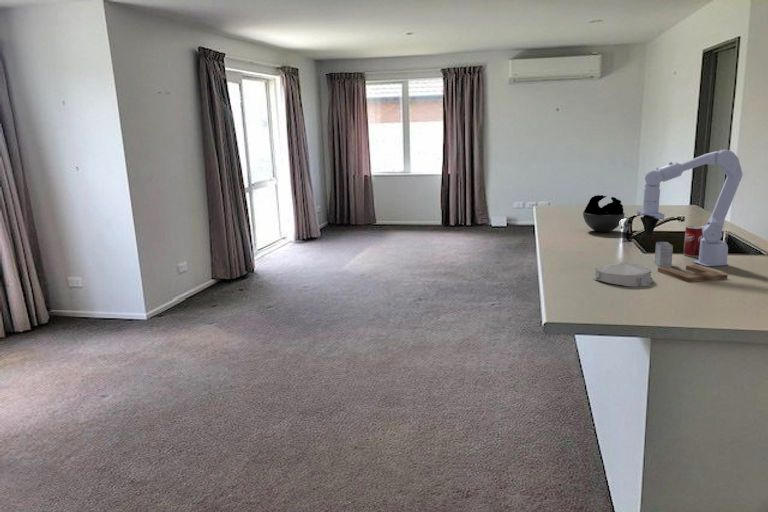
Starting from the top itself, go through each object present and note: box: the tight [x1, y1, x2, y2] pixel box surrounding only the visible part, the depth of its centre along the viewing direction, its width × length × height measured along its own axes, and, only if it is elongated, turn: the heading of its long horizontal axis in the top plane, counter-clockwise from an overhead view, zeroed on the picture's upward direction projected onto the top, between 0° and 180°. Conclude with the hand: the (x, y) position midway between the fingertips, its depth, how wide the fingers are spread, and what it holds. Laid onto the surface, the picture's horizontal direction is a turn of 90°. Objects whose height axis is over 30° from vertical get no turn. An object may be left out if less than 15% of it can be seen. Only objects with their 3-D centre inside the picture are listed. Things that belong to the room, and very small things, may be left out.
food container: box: [592, 261, 654, 288], centre depth 206 cm, size 20×20×7 cm
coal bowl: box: [582, 194, 626, 233], centre depth 297 cm, size 20×20×19 cm
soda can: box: [683, 225, 704, 258], centre depth 241 cm, size 7×7×12 cm
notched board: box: [657, 264, 729, 283], centre depth 211 cm, size 16×16×2 cm
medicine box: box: [654, 241, 674, 268], centre depth 226 cm, size 8×4×9 cm, turn 168°
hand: (648, 234), depth 234 cm, fingers closed
